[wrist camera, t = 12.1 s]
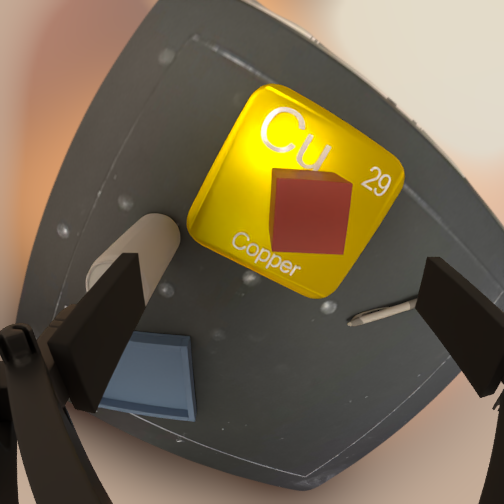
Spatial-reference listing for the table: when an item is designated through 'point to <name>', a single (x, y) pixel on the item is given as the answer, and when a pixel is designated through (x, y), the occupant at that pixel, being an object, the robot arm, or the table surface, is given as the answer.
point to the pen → (381, 313)
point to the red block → (309, 211)
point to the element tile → (300, 158)
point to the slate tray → (154, 378)
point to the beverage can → (142, 250)
